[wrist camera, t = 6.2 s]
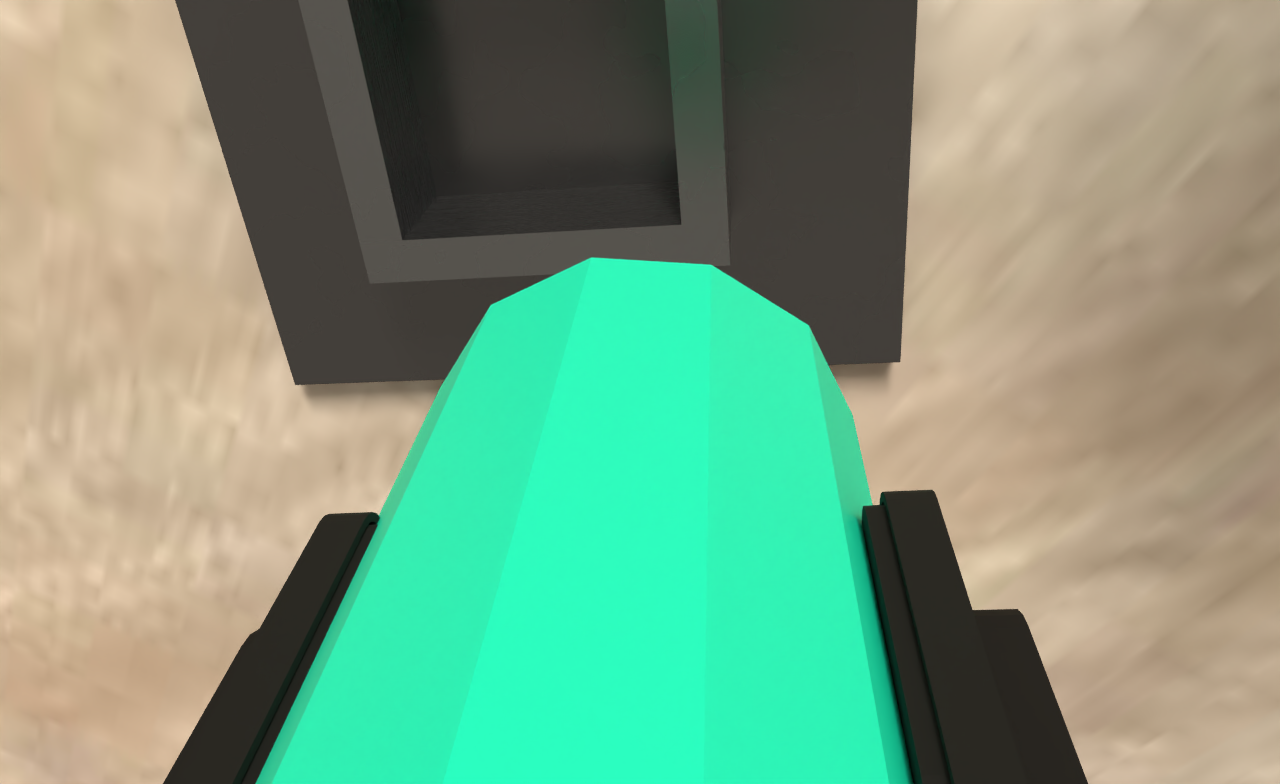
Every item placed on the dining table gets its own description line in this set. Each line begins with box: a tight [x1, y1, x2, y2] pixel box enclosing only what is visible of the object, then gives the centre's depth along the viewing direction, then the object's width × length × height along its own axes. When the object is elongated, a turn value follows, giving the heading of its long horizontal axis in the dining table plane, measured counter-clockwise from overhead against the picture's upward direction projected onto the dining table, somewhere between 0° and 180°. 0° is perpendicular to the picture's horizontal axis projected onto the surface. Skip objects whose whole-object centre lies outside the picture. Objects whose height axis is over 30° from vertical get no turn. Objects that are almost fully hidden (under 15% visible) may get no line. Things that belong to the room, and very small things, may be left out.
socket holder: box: [175, 0, 917, 385], centre depth 26 cm, size 20×20×4 cm
